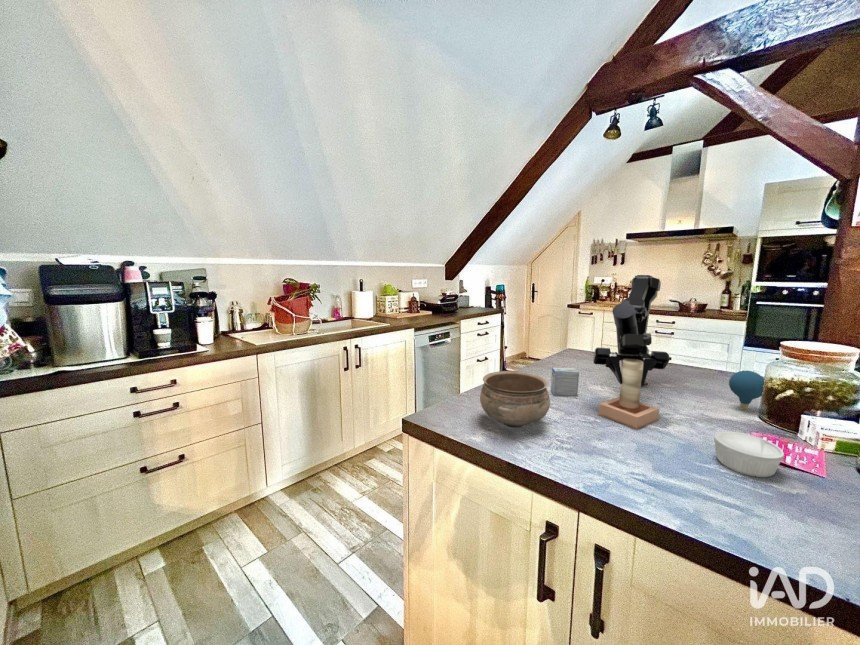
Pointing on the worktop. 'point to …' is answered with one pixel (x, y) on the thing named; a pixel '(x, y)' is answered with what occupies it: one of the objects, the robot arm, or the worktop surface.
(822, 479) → the worktop surface
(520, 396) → the cooking pot
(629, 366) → the vase
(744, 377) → the light bulb
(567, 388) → the medicine box
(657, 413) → the tray
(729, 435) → the ramekin
